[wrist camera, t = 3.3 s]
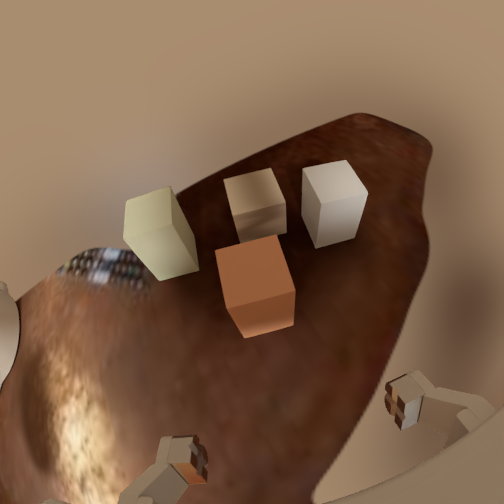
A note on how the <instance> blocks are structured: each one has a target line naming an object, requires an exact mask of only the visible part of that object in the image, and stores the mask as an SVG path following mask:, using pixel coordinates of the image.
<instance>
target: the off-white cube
mask: <svg viewBox="0 0 504 504" xmlns="http://www.w3.org/2000/svg"><path fill="white" fill-rule="evenodd" d="M224 183H225V187H226V192H227V196H228V200H229V204H230V208H231V212H232V216H233V219H234V223H235V226H236V230H237V234H238V237H239V241H240V244H241V243H245V242H248V241H252V240H256V239H260V238H264V237H268V236H271V235H275V234H277V235H280V234H284V233H287V227H286V202H285V199H284V197H283V195H282V192H281V190H280V188H279V185H278V183H277V181H276V178H275V176H274V174H273V172H272V169H271V168H268V169H264V170H260V171H256V172H251V173H247V174H243V175H239V176H235V177H232V178H228V179H224Z"/></svg>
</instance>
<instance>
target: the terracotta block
mask: <svg viewBox="0 0 504 504" xmlns="http://www.w3.org/2000/svg"><path fill="white" fill-rule="evenodd" d="M215 254H216V259H217V264H218V270H219V275H220V280H221V285H222V290H223V294H224V299H225V304H226V309H227V311H228V312H229V314H230V315H231V317H232V319H233V320H234V322H235V324H236V325H237V327H238V329H239V330H240V332H241V333H242V335H243V337H244V338H248V337H252V336H256V335H259V334H263V333H267V332H271V331H275V330H278V329H282V328H285V327H289V326H293V323H294V309H295V292H296V290H295V287H294V284H293V281H292V278H291V275H290V272H289V269H288V266H287V263H286V260H285V258H284V255H283V252H282V249H281V246H280V243H279V240H278V237H277V234H275V235H271V236H268V237H264V238H260V239H256V240H252V241H248V242H245V243H241V244H237V245H233V246H229V247H226V248H222V249H218V250H215Z"/></svg>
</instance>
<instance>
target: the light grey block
mask: <svg viewBox="0 0 504 504" xmlns="http://www.w3.org/2000/svg"><path fill="white" fill-rule="evenodd" d="M367 195H368V192H367V190H366V189H365V187H364V186H363V184H362V183H361V181H360V180H359V178H358V177H357V175H356V174H355V172H354V171H353V169H352V168H351V166H350V165H349V164H348V162H347V161H346V160H343V161H338V162H332V163H327V164H322V165H317V166H312V167H307V168H303V172H302V211H301V216H302V218H303V220H304V223H305V225H306V227H307V230H308V232H309V234H310V237H311V239H312V241H313V244H314V246H315V249H316V248H320V247H323V246H327V245H330V244H334V243H338V242H341V241H345V240H349V239H352V238H355V235H356V232H357V229H358V225H359V222H360V219H361V216H362V212H363V209H364V206H365V202H366V199H367Z"/></svg>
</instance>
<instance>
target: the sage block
mask: <svg viewBox="0 0 504 504" xmlns="http://www.w3.org/2000/svg"><path fill="white" fill-rule="evenodd" d="M123 239H124V240H125V242H126V243H127V244H128V245H129V247H130V248H131V249H132V250H133V251H134V253H135V254H136V255H137V256H138V257H139V258H140V260H141V261H142V262H143V263H144V264H145V265H146V266H147V268H148V269H149V270H150V271H151V272H152V273H153V274H154V275H155V277H156V278H157V279H158V280H159V281H161V280H165V279H169V278H173V277H177V276H180V275H184V274H188V273H192V272H196V271H199V265H198V258H197V251H196V244H195V237H194V234H193V232H192V230H191V228H190V226H189V224H188V222H187V220H186V218H185V216H184V214H183V212H182V210H181V208H180V206H179V204H178V202H177V199H176V197H175V195H174V193H173V191H172V189H171V187H170V186H169V187H166V188H163V189H160V190H157V191H154V192H151V193H148V194H145V195H142V196H139V197H136V198H133V199H130V200H127V201H126V209H125V222H124V236H123Z"/></svg>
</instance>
